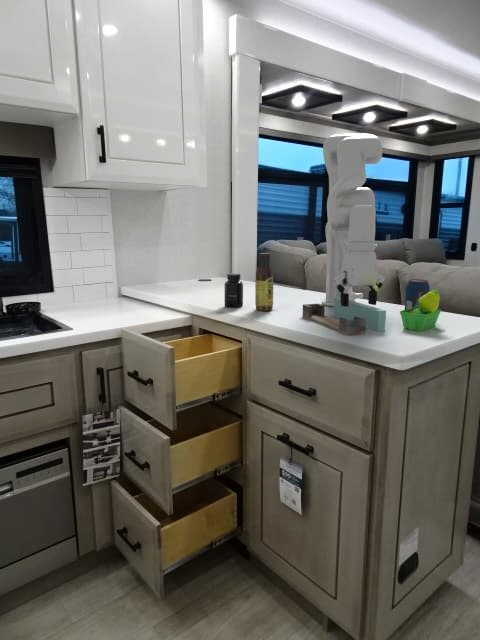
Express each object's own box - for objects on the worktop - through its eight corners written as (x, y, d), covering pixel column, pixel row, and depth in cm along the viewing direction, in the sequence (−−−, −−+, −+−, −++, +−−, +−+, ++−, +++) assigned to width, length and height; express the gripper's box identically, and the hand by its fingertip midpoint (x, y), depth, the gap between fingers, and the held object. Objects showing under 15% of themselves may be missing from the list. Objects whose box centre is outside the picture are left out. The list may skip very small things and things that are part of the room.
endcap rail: (317, 315, 148) (318, 303, 147) (365, 333, 123) (366, 319, 122) (302, 316, 146) (302, 304, 145) (347, 335, 121) (348, 321, 120)
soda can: (414, 314, 148) (417, 278, 145) (432, 318, 142) (435, 280, 139) (399, 316, 144) (401, 279, 142) (416, 320, 138) (419, 282, 136)
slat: (333, 315, 148) (333, 298, 147) (339, 315, 149) (340, 297, 148) (377, 332, 126) (378, 311, 125) (384, 331, 127) (386, 310, 125)
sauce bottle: (271, 311, 154) (272, 253, 150) (253, 311, 156) (253, 253, 151) (274, 308, 161) (274, 252, 156) (257, 307, 162) (257, 252, 158)
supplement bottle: (229, 309, 160) (229, 275, 158) (221, 306, 166) (220, 273, 164) (246, 307, 163) (246, 274, 161) (237, 304, 169) (237, 272, 167)
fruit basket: (415, 322, 136) (418, 285, 134) (445, 327, 130) (448, 288, 128) (397, 328, 129) (399, 289, 126) (427, 333, 122) (430, 293, 120)
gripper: (377, 247, 139) (375, 302, 142) (328, 248, 133) (327, 305, 136) (393, 247, 132) (390, 305, 135) (342, 248, 126) (340, 308, 129)
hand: (358, 305), depth 135 cm, fingers open, 9 cm apart
